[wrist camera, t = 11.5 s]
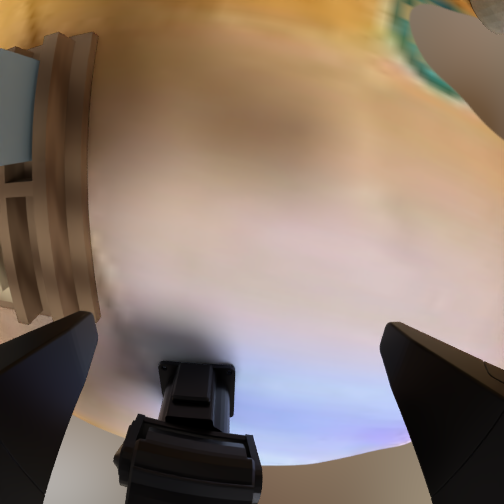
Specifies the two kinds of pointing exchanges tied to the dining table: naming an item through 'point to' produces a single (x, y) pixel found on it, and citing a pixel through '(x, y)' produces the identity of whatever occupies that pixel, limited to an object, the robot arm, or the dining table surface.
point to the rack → (52, 190)
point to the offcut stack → (4, 281)
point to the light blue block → (16, 106)
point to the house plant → (490, 14)
